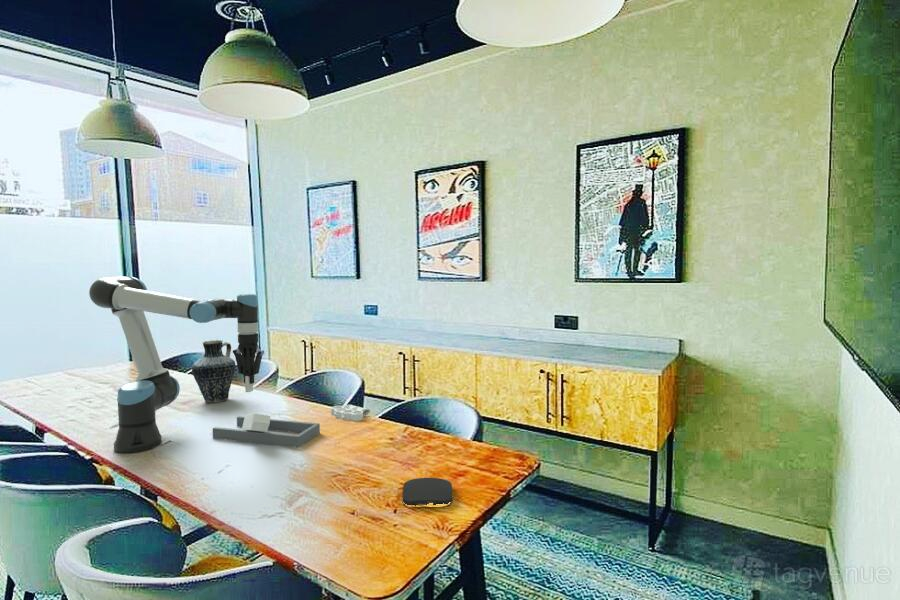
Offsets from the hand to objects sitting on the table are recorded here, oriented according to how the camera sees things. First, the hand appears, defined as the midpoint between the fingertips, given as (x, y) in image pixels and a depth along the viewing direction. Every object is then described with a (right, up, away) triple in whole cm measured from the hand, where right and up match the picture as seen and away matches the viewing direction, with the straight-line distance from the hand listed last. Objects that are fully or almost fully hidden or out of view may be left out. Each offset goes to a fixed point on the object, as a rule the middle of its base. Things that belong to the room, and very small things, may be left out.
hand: (249, 391), depth 196 cm
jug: (-37, -14, +49) cm, 63 cm away
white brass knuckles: (+35, -17, +27) cm, 47 cm away
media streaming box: (+74, -22, -50) cm, 92 cm away
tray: (+7, -18, 0) cm, 19 cm away
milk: (-1, -14, +4) cm, 14 cm away
